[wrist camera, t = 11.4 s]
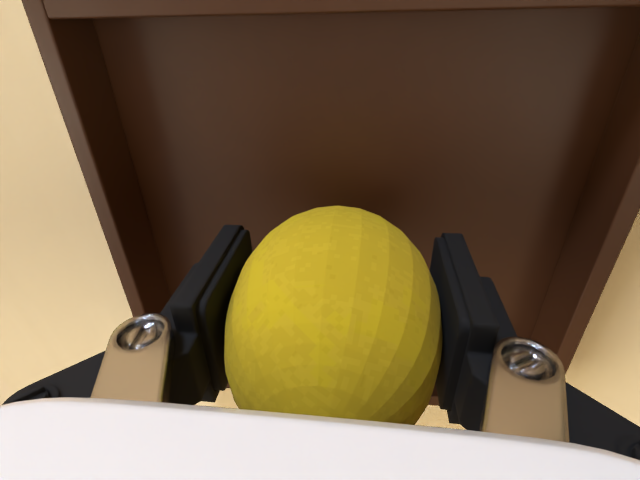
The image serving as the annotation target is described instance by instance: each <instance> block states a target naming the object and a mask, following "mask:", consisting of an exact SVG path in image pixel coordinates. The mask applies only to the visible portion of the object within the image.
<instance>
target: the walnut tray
mask: <svg viewBox="0 0 640 480" xmlns="http://www.w3.org/2000/svg"><path fill="white" fill-rule="evenodd" d="M22 3H23V6H24V9H25V11H26V14H27V17H28V20H29V23H30V26H31V28H32V31H33V34H34V37H35V40H36V43H37V45H38V48H39V51H40V54H41V57H42V60H43V62H44V65H45V68H46V71H47V74H48V76H49V79H50V82H51V85H52V88H53V91H54V93H55V96H56V99H57V102H58V105H59V108H60V110H61V113H62V116H63V119H64V122H65V125H66V127H67V130H68V133H69V136H70V139H71V142H72V144H73V147H74V150H75V153H76V156H77V159H78V161H79V164H80V167H81V170H82V173H83V176H84V178H85V181H86V184H87V187H88V190H89V193H90V195H91V198H92V201H93V204H94V207H95V210H96V212H97V215H98V218H99V221H100V224H101V227H102V229H103V232H104V235H105V238H106V241H107V244H108V246H109V249H110V252H111V255H112V258H113V260H114V263H115V266H116V269H117V272H118V275H119V277H120V280H121V283H122V286H123V289H124V292H125V294H126V297H127V300H128V303H129V306H130V309H131V311H132V314H133V317H135V316H138V315H142V314H149V313H156V314H160V312H161V311H162V310H163V308H164V307H165V305H166V304H167V302H168V301H169V299H170V298H171V297H172V295H173V294H174V292H175V291H176V289H177V288H178V286H179V285H180V284H181V282H182V281H183V279H184V278H185V276H186V275H187V274H188V272H189V271H190V269H191V268H192V266H193V265H194V264H195V263H199V261H200V260H201V258H202V257H203V255H204V254H205V252H206V251H207V249H208V248H209V246H210V245H211V243H212V242H213V240H214V239H215V237H216V236H217V235H218V233H219V232H220V230H221V229H222V227H223V226H224V225H242V226H243V227H244V230H249V232H250V237H251V245H252V252H253V251H254V250H255V249H256V248H257V246H258V245H259V244H260V243H261V241H262V240H263V239H264V238H265V237H266V236H267V235H268V234H269V232H271V231H272V230H273V229H275V228H276V227H277V226H279V225H280V224H282V223H283V222H285V221H286V220H288V219H289V218H291V217H292V216H294V215H297V214H300V213H303V212H305V211H308V210H311V209H314V208H318V207H328V206H346V207H354V208H360V209H363V210H366V211H368V212H371V213H374V214H376V215H379V216H381V217H382V218H384V219H385V220H387V221H388V222H390V223H391V224H393V225H394V226H396V227H397V228H398V229H400V230H401V231H402V232H403V233H404V234H405V235H406V236H407V237H408V239H409V240H410V241H411V242H412V243H413V244H414V245H415V247H416V248H417V249H418V250H419V251H420V253H421V255H422V256H423V258H424V260H425V262H426V265H427V267H428V269H429V271H430V264H431V258H432V251H433V245H434V239H435V237H441V235H442V233H460V234H463V236H464V239H465V241H466V244H467V246H468V249H469V251H470V254H471V256H472V259H473V261H474V264H475V266H476V268H477V271H478V273H479V276H480V277H489V278H491V279H492V281H493V283H494V285H495V287H496V289H497V292H498V294H499V296H500V298H501V301H502V303H503V305H504V307H505V310H506V312H507V314H508V316H509V319H510V321H511V323H512V325H513V328H514V330H515V332H516V334H517V337H523V338H528V339H531V340H534V341H537V342H539V343H541V344H543V345H544V346H546V347H548V348H549V349H550V350H552V351H553V352H554V353H555V354H556V355H557V356H558V357H559V359H560V360H561V362H562V363H563V367H564V370H565V374H566V372H567V369H568V367H569V365H570V363H571V360H572V358H573V356H574V354H575V352H576V349H577V347H578V345H579V343H580V340H581V338H582V336H583V334H584V331H585V329H586V327H587V325H588V323H589V320H590V318H591V316H592V314H593V311H594V309H595V307H596V305H597V303H598V300H599V298H600V296H601V294H602V291H603V289H604V287H605V285H606V283H607V280H608V278H609V276H610V274H611V271H612V269H613V267H614V265H615V263H616V260H617V258H618V256H619V254H620V251H621V249H622V247H623V245H624V243H625V240H626V238H627V236H628V234H629V231H630V229H631V227H632V225H633V222H634V220H635V218H636V216H637V214H638V211H639V209H640V0H22ZM226 388H230V385H229V382H228V384H227V387H226ZM428 405H438V406H439V401H438V395H437V389H436V383H435V386H434V389H433V393H432V395H431V398H430V401H429V404H428Z"/></svg>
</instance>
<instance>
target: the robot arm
mask: <svg viewBox="0 0 640 480" xmlns="http://www.w3.org/2000/svg"><path fill="white" fill-rule="evenodd" d="M251 254H252V245H251V237H250V232H249V230H244V227H243V226H242V225H224V226H223V227H222V229H221V230H220V232H219V233H218V235H217V236H216V237H215V239H214V240H213V242H212V243H211V245H210V246H209V248H208V249H207V251H206V252H205V254H204V255H203V257H202V258H201V260H200V261H199V263H195V264H194V265H193V266H192V268H191V269H190V271H189V272H188V274H187V275H186V276H185V278H184V279H183V281H182V282H181V284H180V285H179V286H178V288H177V289H176V291H175V292H174V294H173V295H172V297H171V298H170V299H169V301H168V302H167V304H166V305H165V307H164V308H163V310H162V311H161V312H160V314H156V313H149V314H142V315H138V316H135V317H133V318H130V319H128V320H126V321H125V322H123V323H122V324H120V325H119V326H118V327H117V328H116V329H115V330H114V331H113V333H112V335H111V337H110V339H109V342H108V345H107V348H106V351H104V352H102V353H99V354H97V355H95V356H93V357H91V358H88V359H86V360H84V361H82V362H79V363H77V364H75V365H73V366H71V367H68V368H66V369H64V370H62V371H59V372H57V373H55V374H53V375H51V376H48V377H46V378H44V379H42V380H39V381H37V382H35V383H33V384H31V385H28V386H27V387H25V388H23V389H21V390H19V391H17V392H16V393H15V394H13V395H12V396H11V397H9V398H8V399H7V400H6V401H5V402H4V403H3V404H2V405H0V480H640V427H639V426H637V425H636V424H634V423H632V422H631V421H629V420H627V419H626V418H624V417H622V416H621V415H619V414H617V413H616V412H614V411H612V410H611V409H609V408H608V407H606V406H604V405H603V404H601V403H599V402H598V401H596V400H594V399H593V398H591V397H589V396H588V395H586V394H584V393H583V392H581V391H580V390H578V389H576V388H575V387H573V386H571V385H570V384H568V383H566V382H565V370H564V367H563V363H562V362H561V360H560V359H559V357H558V356H557V355H556V354H555V353H554V352H553V351H552V350H550V349H549V348H548V347H546V346H544V345H543V344H541V343H539V342H537V341H534V340H531V339H528V338H523V337H517V334H516V332H515V330H514V328H513V325H512V323H511V321H510V319H509V316H508V314H507V312H506V310H505V307H504V305H503V303H502V301H501V298H500V296H499V294H498V292H497V289H496V287H495V285H494V283H493V281H492V279H491V278H489V277H480V276H479V273H478V271H477V268H476V266H475V264H474V261H473V259H472V256H471V254H470V251H469V249H468V246H467V244H466V241H465V239H464V236H463V234H460V233H442V235H441V237H435V239H434V245H433V251H432V258H431V264H430V273H431V276H432V278H433V280H434V283H435V285H436V288H437V292H438V295H439V302H440V310H441V321H442V337H443V338H442V353H441V361H440V365H439V370H438V374H437V378H436V382H435V383H436V389H437V395H438V401H439V406H440V409H445V410H447V413H448V418H449V423H454V424H460V425H462V426H463V427H464V428H465V429H467V430H461V429H451V428H441V427H430V426H420V425H409V424H399V423H388V422H378V421H367V420H356V419H345V418H335V417H324V416H313V415H302V414H290V413H279V412H268V411H257V410H245V409H234V408H222V407H210V406H198V405H195V404H196V403H198V402H200V401H207V402H215V401H216V398H217V395H218V393H219V390H222V391H223V390H225V389H226V387H227V384H228V379H227V375H226V372H225V363H224V346H225V324H226V316H227V311H228V306H229V302H230V299H231V296H232V293H233V291H234V288H235V286H236V283H237V281H238V278H239V275H240V273H241V270H242V268H243V266H244V264H245V263H246V261H247V259H248V258H249V256H250V255H251Z"/></svg>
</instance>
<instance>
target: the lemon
mask: <svg viewBox="0 0 640 480" xmlns="http://www.w3.org/2000/svg"><path fill="white" fill-rule="evenodd" d="M442 338H443V337H442V321H441V310H440V302H439V295H438V292H437V288H436V285H435V283H434V280H433V278H432V276H431V273H430V271H429V269H428V267H427V265H426V262H425V260H424V258H423V256H422V255H421V253H420V251H419V250H418V249H417V248H416V247H415V245H414V244H413V243H412V242H411V241H410V240H409V239H408V237H407V236H406V235H405V234H404V233H403V232H402V231H401V230H400V229H398V228H397V227H396V226H394V225H393V224H391V223H390V222H388V221H387V220H385V219H384V218H382V217H381V216H379V215H376V214H374V213H371V212H368V211H366V210H363V209H360V208H354V207H346V206H328V207H318V208H314V209H311V210H308V211H305V212H303V213H300V214H297V215H294V216H292V217H291V218H289V219H288V220H286V221H285V222H283V223H282V224H280V225H279V226H277V227H276V228H275V229H273V230H272V231H271V232H269V234H268V235H267V236H266V237H265V238H264V239H263V240H262V241H261V243H260V244H259V245H258V246H257V248H256V249H255V250H254V251H253V252H252V254H251V255H250V256H249V258H248V259H247V261H246V263H245V264H244V266H243V268H242V270H241V273H240V275H239V278H238V281H237V283H236V286H235V288H234V291H233V293H232V296H231V299H230V302H229V306H228V311H227V316H226V324H225V346H224V363H225V372H226V375H227V379H228V382H229V385H230V388H231V391H232V395H233V398H234V401H235V402H236V404H237V406H238V408H239V409H245V410H257V411H268V412H279V413H290V414H302V415H313V416H324V417H335V418H345V419H356V420H367V421H378V422H388V423H399V424H409V425H415V423H416V422H417V420H418V419H419V418H420V416H421V415H422V413H423V412H424V410H425V408H426V407H427V405H428V404H429V401H430V398H431V395H432V393H433V389H434V386H435V382H436V378H437V374H438V370H439V365H440V361H441V353H442Z"/></svg>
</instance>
